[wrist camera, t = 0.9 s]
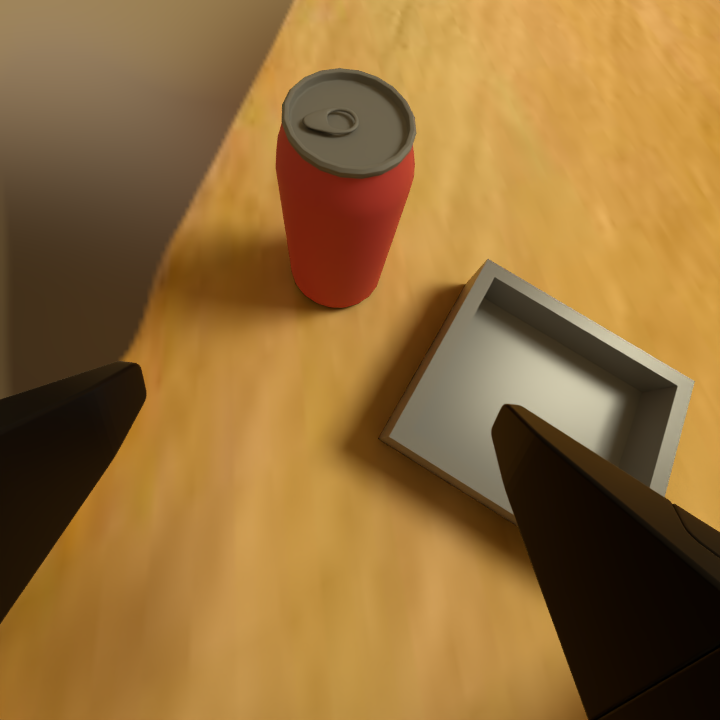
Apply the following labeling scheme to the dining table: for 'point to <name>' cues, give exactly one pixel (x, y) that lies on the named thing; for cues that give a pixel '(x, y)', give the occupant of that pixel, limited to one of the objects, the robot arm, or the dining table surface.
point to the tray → (534, 389)
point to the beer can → (343, 180)
